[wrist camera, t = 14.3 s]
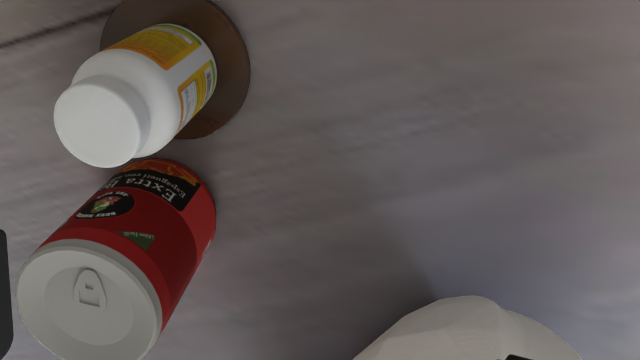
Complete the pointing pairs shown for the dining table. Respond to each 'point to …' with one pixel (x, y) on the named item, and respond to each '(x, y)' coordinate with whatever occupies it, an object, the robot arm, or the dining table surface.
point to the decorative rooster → (467, 334)
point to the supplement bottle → (135, 95)
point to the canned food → (118, 264)
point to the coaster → (217, 33)
